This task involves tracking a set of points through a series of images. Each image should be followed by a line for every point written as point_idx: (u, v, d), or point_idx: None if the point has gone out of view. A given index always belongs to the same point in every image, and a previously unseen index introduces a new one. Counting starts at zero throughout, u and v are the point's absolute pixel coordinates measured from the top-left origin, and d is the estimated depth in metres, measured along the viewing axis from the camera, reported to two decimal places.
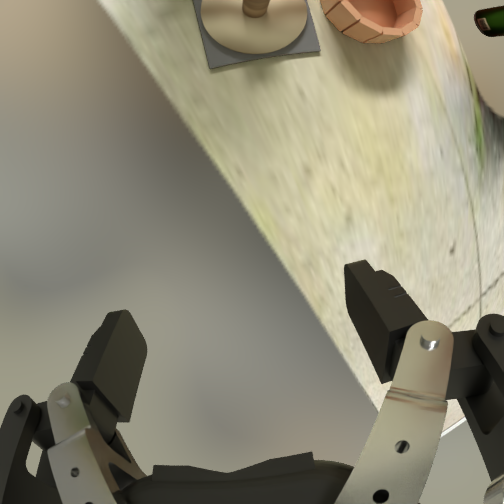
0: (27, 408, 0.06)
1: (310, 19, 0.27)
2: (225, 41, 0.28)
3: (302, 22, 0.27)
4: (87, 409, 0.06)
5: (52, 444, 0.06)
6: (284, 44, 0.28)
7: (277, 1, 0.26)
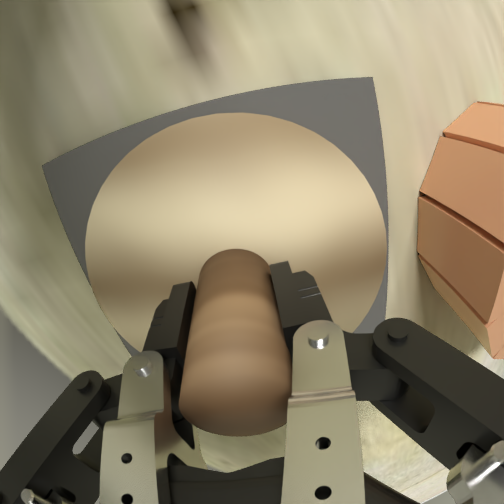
0: (96, 384, 0.06)
1: (383, 281, 0.13)
2: None
3: (363, 308, 0.13)
4: (166, 387, 0.06)
5: None
6: None
7: (306, 255, 0.11)
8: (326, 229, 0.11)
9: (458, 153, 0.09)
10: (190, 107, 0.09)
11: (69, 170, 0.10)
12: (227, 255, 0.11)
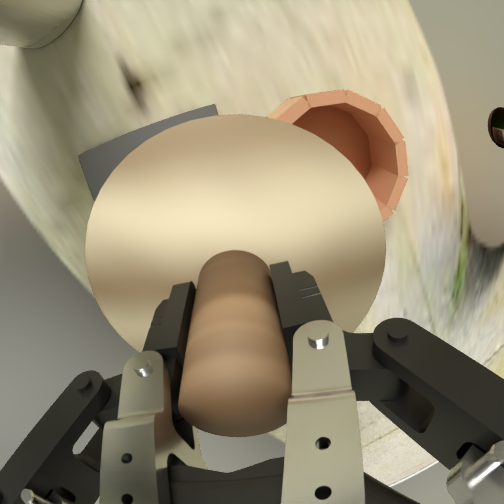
0: (96, 384, 0.06)
1: None
2: None
3: (362, 309, 0.13)
4: (166, 387, 0.06)
5: None
6: None
7: (306, 256, 0.12)
8: (325, 230, 0.11)
9: None
10: (139, 129, 0.23)
11: (91, 157, 0.24)
12: (226, 256, 0.11)
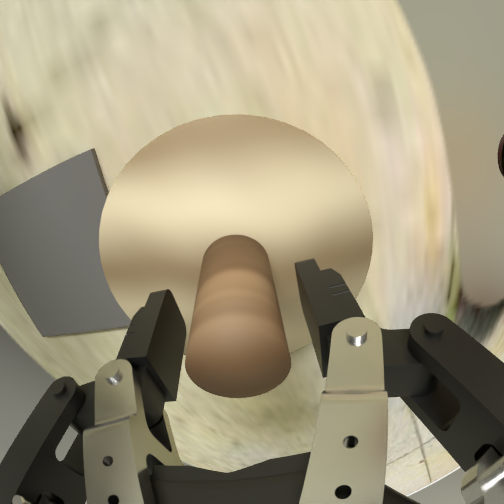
0: (71, 390, 0.06)
1: None
2: None
3: (352, 291, 0.14)
4: (137, 392, 0.06)
5: None
6: (303, 344, 0.16)
7: (299, 240, 0.13)
8: (316, 217, 0.12)
9: None
10: (22, 184, 0.16)
11: None
12: (228, 240, 0.12)
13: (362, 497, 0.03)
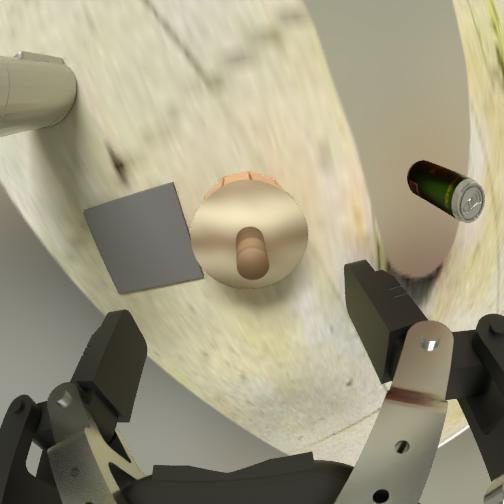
0: (27, 408, 0.06)
1: (191, 248, 0.39)
2: (219, 278, 0.34)
3: (301, 252, 0.33)
4: (87, 409, 0.06)
5: (52, 444, 0.06)
6: (280, 278, 0.35)
7: (275, 229, 0.32)
8: (282, 219, 0.32)
9: None
10: (124, 198, 0.36)
11: (92, 214, 0.36)
12: (247, 228, 0.31)
13: None
